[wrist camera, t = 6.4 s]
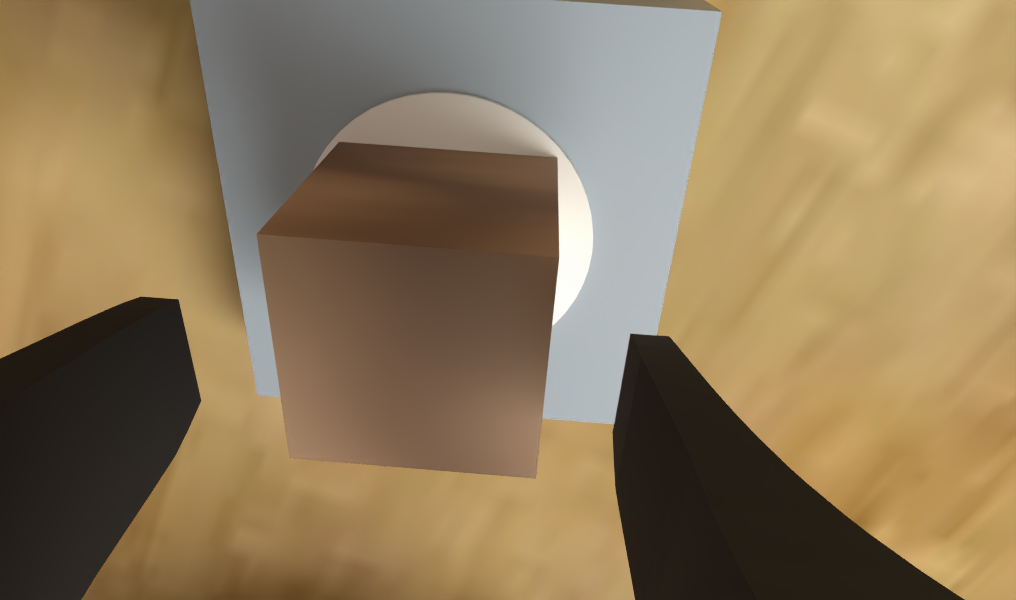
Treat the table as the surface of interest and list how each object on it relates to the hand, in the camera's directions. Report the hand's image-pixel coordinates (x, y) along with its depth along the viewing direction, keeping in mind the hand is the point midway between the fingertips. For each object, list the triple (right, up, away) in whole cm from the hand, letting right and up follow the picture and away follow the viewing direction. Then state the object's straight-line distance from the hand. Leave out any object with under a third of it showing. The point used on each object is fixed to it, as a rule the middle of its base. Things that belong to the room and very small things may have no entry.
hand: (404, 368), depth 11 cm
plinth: (+1, +4, +6) cm, 7 cm away
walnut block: (0, +2, +4) cm, 5 cm away
